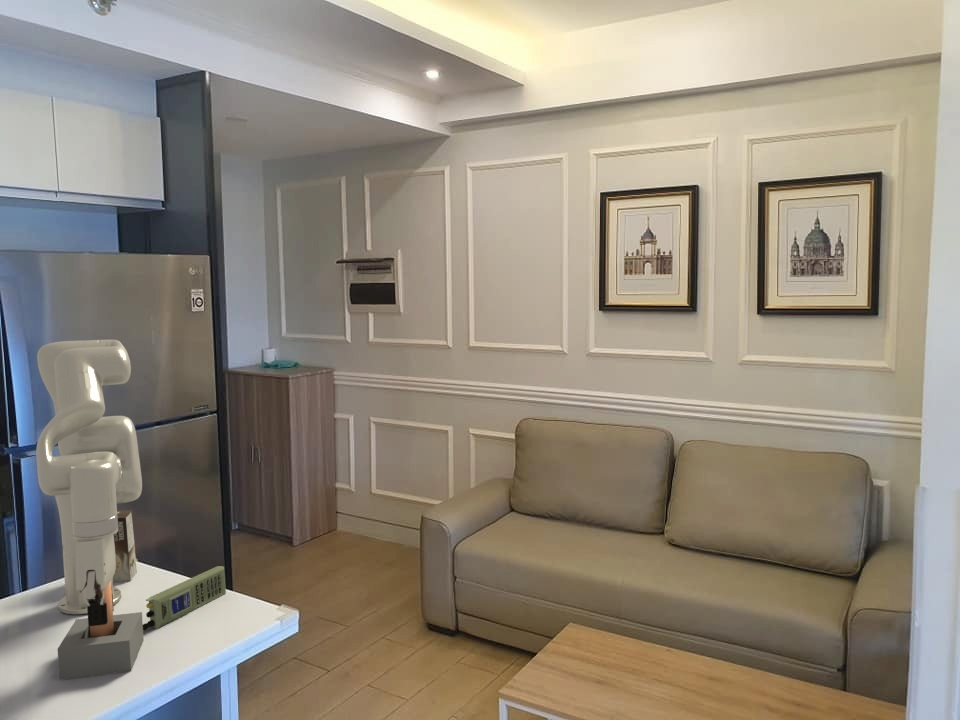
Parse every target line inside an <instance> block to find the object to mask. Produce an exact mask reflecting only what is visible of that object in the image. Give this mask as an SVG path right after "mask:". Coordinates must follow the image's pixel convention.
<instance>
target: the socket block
mask: <svg viewBox="0 0 960 720" xmlns="http://www.w3.org/2000/svg"><path fill="white" fill-rule="evenodd" d="M143 622H144V621H143V612H142V611H140V612H129V613H122V614H113V623H114V634H113V635H110V636H101V637H93V638H91V636H90V626H89V625H88V617H85V618H78V619H77V618H76V619H75V620H74V621H73V623H72V626H70V628H69V630H68V631H67V633H66V634H65V636H64V638H63V639H62V641H61V642H60V644H59V645H58V647H57V661H58V663H57V664H58V675H59V681H62V680H70V679H72V680H73V679H79V678H86V677H94V676H100V675H101V676H103V675H109V674H118V673H126V672H132V671H133V667H134V665H135V662H136V660H137V658H138V655H139V653H140V650H141V647H142V645H143V643H144V631H143V624H144V623H143Z"/></svg>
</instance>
